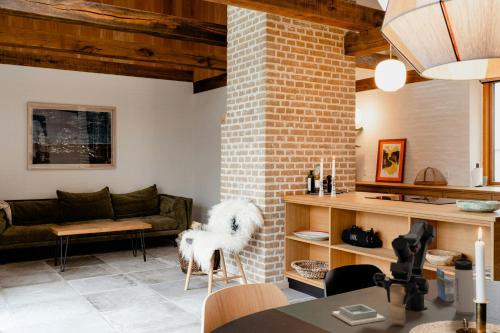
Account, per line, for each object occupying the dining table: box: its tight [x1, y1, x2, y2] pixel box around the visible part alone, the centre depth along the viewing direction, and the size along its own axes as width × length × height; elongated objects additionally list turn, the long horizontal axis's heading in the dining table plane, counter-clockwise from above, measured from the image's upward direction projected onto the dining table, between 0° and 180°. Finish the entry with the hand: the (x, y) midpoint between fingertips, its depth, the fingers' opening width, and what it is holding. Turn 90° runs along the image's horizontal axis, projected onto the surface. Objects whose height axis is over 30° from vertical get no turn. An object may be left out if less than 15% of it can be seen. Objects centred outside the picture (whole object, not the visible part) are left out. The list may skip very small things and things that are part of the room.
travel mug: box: [454, 257, 475, 316], centre depth 180 cm, size 6×7×20 cm
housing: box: [331, 303, 386, 326], centre depth 179 cm, size 14×14×3 cm
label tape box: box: [436, 267, 455, 303], centre depth 199 cm, size 9×4×12 cm, turn 179°
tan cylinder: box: [389, 284, 406, 324], centre depth 168 cm, size 5×5×12 cm
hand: (396, 303), depth 167 cm, fingers closed on tan cylinder, 5 cm apart
